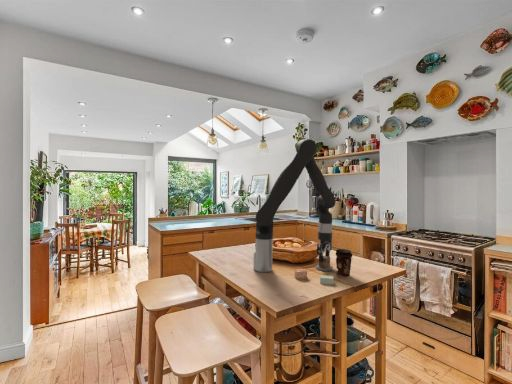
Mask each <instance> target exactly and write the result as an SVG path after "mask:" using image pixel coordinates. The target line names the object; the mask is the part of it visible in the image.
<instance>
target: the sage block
mask: <svg viewBox="0 0 512 384" xmlns="http://www.w3.org/2000/svg"><path fill="white" fill-rule="evenodd" d="M319 284H322V285H334V276H333V275H325V274H324V275H323V274H321V275H319Z"/></svg>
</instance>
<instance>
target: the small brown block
mask: <svg viewBox="0 0 512 384" xmlns="http://www.w3.org/2000/svg"><path fill="white" fill-rule="evenodd" d="M307 278H308V271H307V269H304V268H297V269H295V270H294V279H296V280H300V281H301V280H303V281H304V280H307Z"/></svg>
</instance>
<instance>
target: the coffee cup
mask: <svg viewBox="0 0 512 384" xmlns="http://www.w3.org/2000/svg"><path fill="white" fill-rule="evenodd" d="M335 251H336V252H335V256H336V258H335V264H336V269H337V272H336V276H337V277H340V278H343V279H344V278H346V279H347V278H349V277H350V276H351V275H350V274H351V269H352V268H351V267H352V258H353V253H352V252H351V250H349V249H346V248H339V249H336V250H335Z"/></svg>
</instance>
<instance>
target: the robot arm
mask: <svg viewBox="0 0 512 384" xmlns="http://www.w3.org/2000/svg"><path fill="white" fill-rule="evenodd" d="M317 148H318V146H317V143H316V141H315V140H314V139H308V138H307V139H306V138H305V139H300V140H299V141H298V142H296V145H295V152H296V154H295V155H294V158H293V159H292V160H291V162H290V163H289V164H288V165H287V166H286V167H285V168H284V169H283V170H282V171H281V172H280V174H279V176H277V177H278V178H277V179H276V180H275V182H274V184H273V186H272V188H271V190H270V192H269V195H268V197H267V199H266V200H265V201H264V203H263V205H262V206H261V207H260V208H259V209H258V210H257V212H256V214H255V222H256V223H255V224H256V226H255V250H254V251H253V270H255V271H256V272H259V273H270V272H272V271H273V250H274V249H273V242H274V241H273V238H274V237H273V236H274V219H275V218H274V217H275V215H276V214H277V211H278V210H279V208H280V207H281V204H283V202H284V201H285V200H286V199H287V197H288V196H289V194H290V193H291V191H292V190H293V188H294V187H295V185H296V183H297V181H298V179H299V178H300V176H301V175H302V173H303V171H304V169H306V172H307V174H308V177H309V179H310V181H311V184H312V187H313V189H314V191H315V193H316V194H319V195H318V197H317V200H316V206H317V211H318V229H317V239H318V240H319V241H320V242H318V243H316V255H318V263H319V262H323V256H328V257H330V253H331V251H332V248H333V247H332V245H333V242H332V240H333V214H332V213H331V212H330V211H329V209H333V208H334V207H335V206H336V198H335V195H334V194H333V192H332V190H331V189H330V188H329V187H328V185H327V181H326V179H325V176H324V174H323V172H322V171H321V169H320V167H319V166H318V164H317V162H316V160H315V158H314V155H315V154H316V152H317ZM324 254H325V255H324Z"/></svg>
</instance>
